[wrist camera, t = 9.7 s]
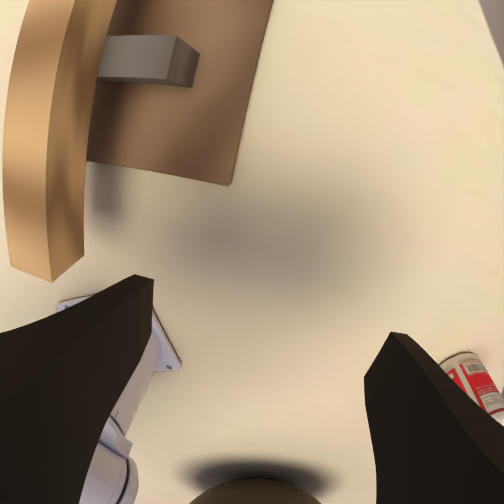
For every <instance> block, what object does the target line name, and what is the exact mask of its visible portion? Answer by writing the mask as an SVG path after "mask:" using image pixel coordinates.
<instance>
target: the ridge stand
mask: <svg viewBox="0 0 504 504" xmlns="http://www.w3.org/2000/svg"><path fill="white" fill-rule="evenodd" d="M272 4H273V0H117V1H116V4H115V7H114V11H113V14H112V17H111V21H110V24H109V28H108V32H107V35H106V39H105V43H104V47H103V51H102V56H101V60H100V65H99V70H98V75H97V80H96V85H95V91H94V97H93V103H92V110H91V117H90V124H89V133H88V142H87V153H86V161H91V162H98V163H105V164H111V165H118V166H124V167H130V168H136V169H142V170H147V171H153V172H158V173H164V174H169V175H175V176H180V177H185V178H190V179H195V180H200V181H205V182H210V183H215V184H219V185H224V186H229V185H230V184H231V181H232V176H233V171H234V167H235V162H236V157H237V152H238V147H239V143H240V138H241V134H242V129H243V124H244V120H245V115H246V111H247V106H248V102H249V98H250V93H251V89H252V85H253V80H254V76H255V72H256V68H257V63H258V59H259V55H260V51H261V47H262V43H263V39H264V35H265V31H266V27H267V23H268V19H269V15H270V11H271V8H272Z"/></svg>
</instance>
